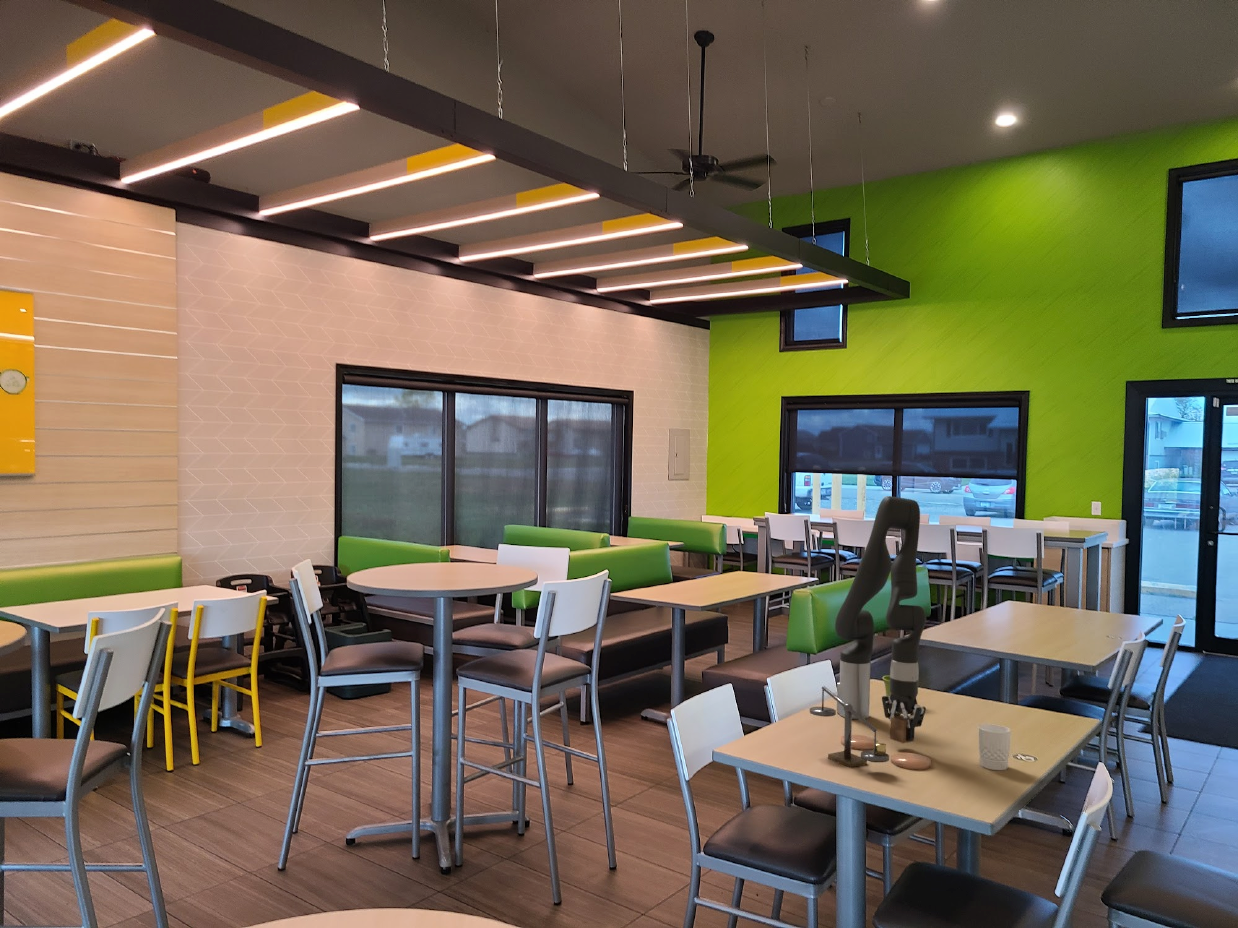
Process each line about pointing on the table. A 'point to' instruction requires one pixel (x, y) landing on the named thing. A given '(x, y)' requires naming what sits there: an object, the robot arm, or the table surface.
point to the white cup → (994, 746)
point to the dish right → (910, 761)
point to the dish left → (860, 742)
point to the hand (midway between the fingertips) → (902, 737)
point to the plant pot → (887, 685)
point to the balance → (846, 756)
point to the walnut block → (898, 729)
